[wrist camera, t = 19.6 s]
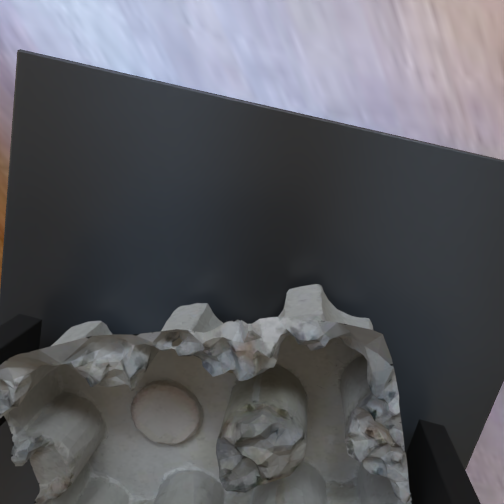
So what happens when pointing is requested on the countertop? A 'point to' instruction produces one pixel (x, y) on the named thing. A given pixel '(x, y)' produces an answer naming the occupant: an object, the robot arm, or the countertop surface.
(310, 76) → the countertop surface
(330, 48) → the countertop surface
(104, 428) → the egg carton
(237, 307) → the shelf
